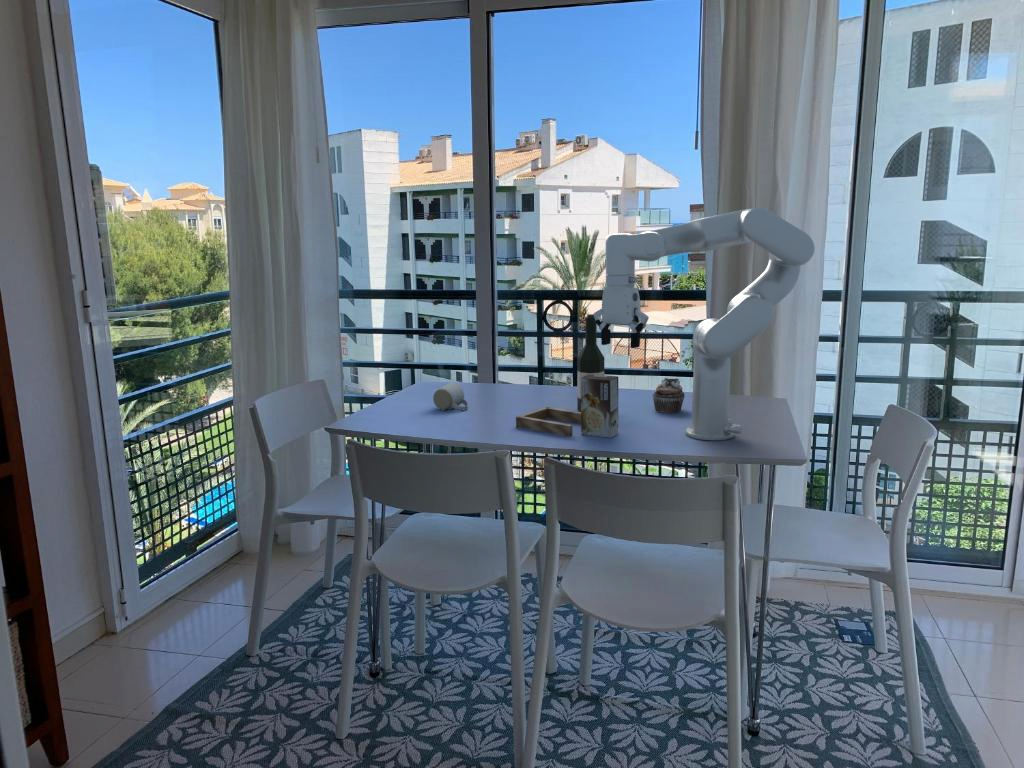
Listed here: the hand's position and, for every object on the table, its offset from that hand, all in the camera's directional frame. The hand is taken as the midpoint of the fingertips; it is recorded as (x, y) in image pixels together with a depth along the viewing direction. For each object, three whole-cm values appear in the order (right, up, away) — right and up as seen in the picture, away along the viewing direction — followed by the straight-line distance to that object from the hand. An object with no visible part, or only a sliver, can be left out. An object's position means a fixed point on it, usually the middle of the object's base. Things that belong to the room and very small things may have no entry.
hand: (620, 345), depth 199 cm
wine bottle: (-4, -19, +34) cm, 39 cm away
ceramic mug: (-48, -18, +40) cm, 65 cm away
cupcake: (+19, -19, +32) cm, 42 cm away
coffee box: (-5, -24, +7) cm, 25 cm away
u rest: (-16, -22, +15) cm, 31 cm away
